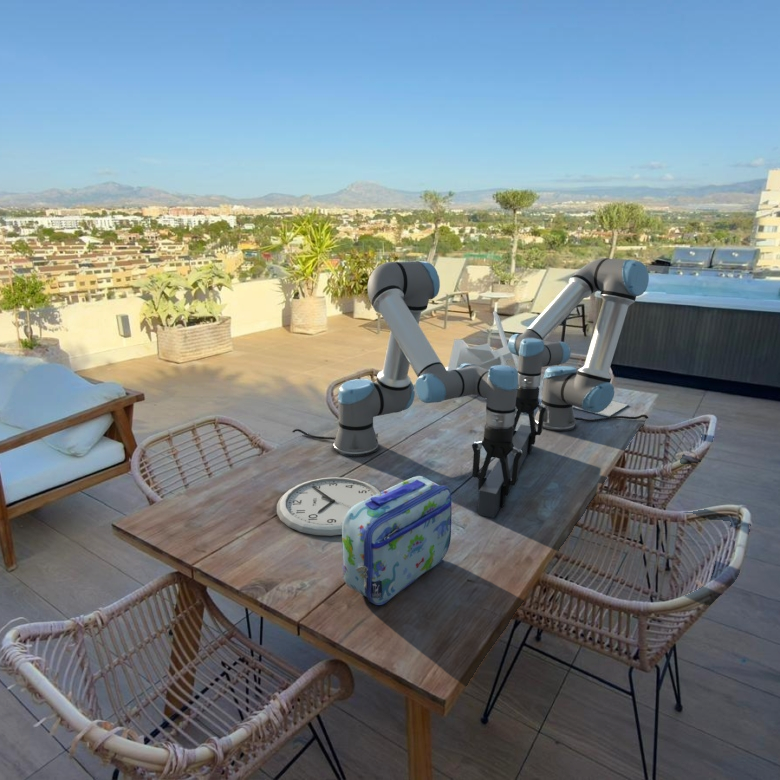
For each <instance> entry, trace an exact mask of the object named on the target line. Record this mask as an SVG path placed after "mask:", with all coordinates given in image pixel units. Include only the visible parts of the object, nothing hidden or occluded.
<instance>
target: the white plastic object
mask: <svg viewBox="0 0 780 780" xmlns="http://www.w3.org/2000/svg"><path fill="white" fill-rule="evenodd" d="M492 315H493V319H494V321H495V324H496V325H495V326H496V328H497V332H498V335H499V338H500V342H501V345H502V347H500V348H498V349H496V350H495V349H493V348H492V347H491V346H490V344H489V343H488V342H487V343H483V344H479V345H473V346H469V345H468V343H466V342H465V340H464V339H463V338H460V339H458V338H454V340H453V344H452V349H451V353H450V357H449V362H448V366H445V369H446V370H447V371H450V370H456V369H457V368H458V367H459V366H460V365H461V364H465V363H468V364H475V365H477V366H479V367H482V368H485V369H488V370H489V369H490V368H491V367H492V366H496V365H505V366H509V365H508V361H510V360H513V363H514V366H515V369H516V370H517V371H518V360H519V356H517V355H515V354H513V353H511V352H510V351H509V348H508V341H507V337H506V334H505V331H504V328H503V325H502V321H501V318H500V315H499V314H498V312H497V311H496V310H495V311H492Z"/></svg>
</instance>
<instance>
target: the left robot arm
mask: <svg viewBox="0 0 780 780" xmlns="http://www.w3.org/2000/svg"><path fill="white" fill-rule="evenodd" d="M440 287H441V281H440V276H439V274H438V271H437V269H436V267H435V266H434V264H432V263H430V262H428V261H420V260H414V261H387V262H383V263H381V264H380V265H378V266H377V267H375V268H374V269H373V271H372V272H371V273H370V275H369V278H368V281H367V288H366V289H367V297H368V300H369V302H370V305H371V306H372V308H373V310H374V311H375V312H376V313H377V314H380V315H381V317H382V318H383V320H384V322H385V323H386V326H387V327H388V328H389V336H388V340H387V344H386V345H387V346H386V350H385V351H386V352H385V356H384V361H383V367H382V370H379V371H378V373H377V375H376V381H372V380H371V379H368V378H355V379H351V380H347V381H345V382H343V383H342V384H341V385H340V387H339V388H338V396H337V401H338V427H337V428H338V429H337V432H336V436H322V435H321V436H319V435H313V434H311V433H308V432H306V431H304V430H303V429H299V428H295V429H293V430H292V431H291V433H295V432H299V433H301V434H303V435H305V436H308V437H309V438H313V439H318V440H319V439H320V440H333V450H334V452H336V453H338V454H339V455H341V456H347V457H364V456H365V457H366V456H369V455H372V454H374V453H376V451H378V450H379V441H378V437H379V433H376V431H375V429H374V417H380V416H385V415H390V414H394V413H395V414H396V413H401V412H402V411H406V410H408V409H409V408H411V406H412V405H413V403H414V401H415V394H416V396H417V398H418V399H419V400H420V401H421V402H423V403H424V404H433V403H441V402H443V401H447V400H452V399H458V398H463V397H469V396H473V395H474V396H478V397H480V398H483V399H486V405H485V418H484V419H485V420H484V422H485V424H484V430H483V439H482V440H481V441H478V440H475V441H474V442H473V443H472V445H471V448H472V451H473V456H472V457H473V460H472V475H471V476H472V477H473V478H476V479H478V486H477V489H478V491H479V490H480V489H481V487H482V486H483V484H484V482H485V481H486V479H487V478H488V477H486V475H487V472H488V469H489V466H490V463H491V461H492V458H496V459H498V460H499V459H500V463H501V466H502V473H503V479H504V482H503V484H502V486H501V496H500V508H503V507H504V505H505V502H506V497H508V496H509V494H510V490H511V487H510V485H511V486H516V485H517V483H518V480H519V471H520V469H519V463H520V457H521V455H522V453H523V450H522V449H517V448H515V447H514V445H513V442H512V440H513V429H514V427H513V425H514V419H515V416H516V406H515V405H516V396H517V389H518V371H517V369H516V367H514V366H510V365H508V366H505V365H502V364H501V365H496V366H492V367H491V368H490V369H489V370H488V369H485V368H482V367H479V366H477V365H475V364H468V363H465V364H461V365H460V366H459V367H458V368H457V369H456V370H450V371H447V370H446V369H445V368H446V366H445V365H444V364H443V362H442V361H441V360H440V358H439V356H438V355H437V353H436V351H435V350H434V348H433V346H432V345H431V342H430V341H429V339H428V338H427V336H426V335H425V333H424V331H423V329H422V328H421V327H420V325H419V324H420V319H421V315H422V313H423V312H425V311H426V310H427V309H428V305H429V300H433V299H435V298H436V297H437V296H438V294H439V292H440ZM410 367H411V368H412V370H413V372H414V374H415V375H416V377H417V379H416V380H415V383H414V384H415V385H414V384H413V382H412V379H411V377H410V376H409V375H408V374H409V370H410ZM415 391H416V393H415ZM307 433H308V434H307ZM482 448H483V449H484V451H485V452H486V455H485V458H484V462H483V465H482V467H481V470H480V464H481V463H480V462H481V450H482ZM511 451H512V452H513V456H514V457H515V458H514V462H513V471H512V479H510V473H509V466H508V460H507V459H508V456H507V455H508V454H509V453H510V452H511Z"/></svg>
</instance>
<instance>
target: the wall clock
mask: <svg viewBox="0 0 780 780" xmlns="http://www.w3.org/2000/svg"><path fill="white" fill-rule="evenodd" d="M380 492H382V491H381V490H380V489H379V488H377V487H376V486H374V485H372V484H371V483H369V482H365V481H362V480H359V479H355V478H349V477H338V476H337V477H335V476H333V477H332V476H331V477H322V478H317V479H312V480H307V481H305V482H302V483H299V484H297V485H295V486H293V487H292V488H290V489H288V490H287V491H286V492H285V493H284V494H283V495H281V496H280V498H279V499H278V502H277V503H276V515H277V517H278V518H279V520H280V521H281V522H282V523H283V524H285V525H286V526H287V527H288V528H290V529H293V530H295V531H297V532H299V533H303V534H308V535H312V536H327V537H328V536H329V537H331V536H332V537H333V536H342V525H343V521H344V518H345V516H346V514H347V512H348V511H349V510H350V509H351V508H352V507H353V506H354V505H356V504H358V503H360V502H362V501H364V500H366V499H368V498H370V497H372V496H374V495H376V494H378V493H380Z"/></svg>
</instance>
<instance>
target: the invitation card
mask: <svg viewBox="0 0 780 780" xmlns="http://www.w3.org/2000/svg"><path fill="white" fill-rule="evenodd" d="M628 406H629V404H627V403H623V402H618V401H614V400H612V401H611V403H610V404H609V406H608V407H607V408H605V409H604V410H603V411H601V412H597V413H594V412H590V411H587V413H593V414H596V415H600V416H604V417H611V416H614V414H616V413H617V412H619V411H621V410H623V409H624V408H626V407H628ZM573 409H575V410H581V411H584V412H586V411H585V410H583V409H581V408H579V407H576V406H573Z"/></svg>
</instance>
